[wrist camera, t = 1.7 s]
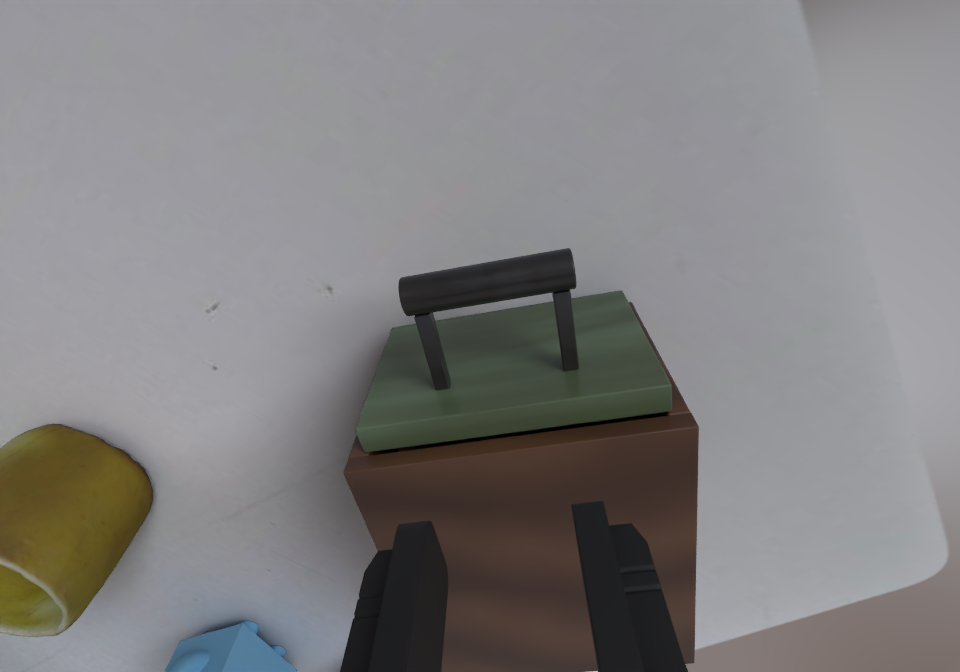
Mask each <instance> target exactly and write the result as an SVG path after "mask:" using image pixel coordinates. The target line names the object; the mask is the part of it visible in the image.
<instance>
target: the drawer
mask: <svg viewBox="0 0 960 672" xmlns="http://www.w3.org/2000/svg"><path fill="white" fill-rule="evenodd" d="M575 288H576V275H575V268H574V261H573V256H572V252H571V250H570V248H566V249H561V250H555V251H549V252H544V253H538V254H532V255H527V256H521V257H515V258H509V259H504V260H498V261H492V262H487V263H481V264H475V265H470V266H464V267H458V268H453V269H447V270H441V271H435V272H430V273H424V274H418V275H413V276H407V277H402V278H400V280H399V297H400V302H401V305H402V308H403V311H404V313H405V314H406V315H407V316H413V315H415V317H414V318H415V322H416V324H414V325H407V326H401V327H395V328H392V329H391V332H390V334H389V337H388V340H387V343H386V345H385V348H384V351H383V354H382V356H381V359H380V362H379V365H378V367H377V370H376V373H375V376H374V378H373V381H372V384H371V387H370V389H369V392H368V395H367V398H366V400H365V403H364V406H363V409H362V411H361V414H360V417H359V420H358V422H357V425H356V428H355V431H356V433H357V436H358V438H359V441H360V443H361V446H362V448H363V451H364V452H365V453H367V452H375V451H382V450H389V449H397V448H399V449H398V452H400V451H408V450H415V449H423V448H430V447H438V446H445V445H453V444H460V443H467V442H475V441H482V440H490V439H497V438H505V437H512V436H520V435H527V434H534V433H542V432H549V431H557V430H564V429H572V428H579V427H587V426H594V425H601V424H609V423H616V422H624V421H631V420H639V419H643V417H642V415H648V414H656V413H663V412H670V411H672V385H671V383H670V381H669V379H668V377H667V375H666V373H665V371H664V369H663V368H662V366H661V364H660V362H659V360H658V358H657V356H656V354H655V352H654V350H653V348H652V347H651V345H650V343H649V341H648V339H647V337H646V335H645V333H644V331H643V329H642V327H641V326H640V324H639V322H638V320H637V318H636V316H635V314H634V312H633V310H632V308H631V306H630V305H629V303H628V301H627V299H626V297H625V295H624V293H623V291H615V292H609V293H603V294H597V295H590V296H584V297H578V298H572V299H571V293H570V289H575ZM546 293H552V294H553V302H548V303H542V304H536V305H529V306H523V307H517V308H511V309H505V310H499V311H493V312H487V313H481V314H475V315H468V316H462V317H456V318H450V319H444V320H438V321H435V319H434V316H433V312H437V311H443V310H449V309H455V308H462V307H468V306H474V305H480V304H486V303H492V302H498V301H504V300H510V299H516V298H522V297H528V296H534V295H540V294H546Z"/></svg>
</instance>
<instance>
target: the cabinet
mask: <svg viewBox="0 0 960 672" xmlns="http://www.w3.org/2000/svg"><path fill="white" fill-rule="evenodd" d="M629 305H630V306H631V308H632V310H633V312H634V314H635V316H636V318H637V320H638V322H639V324H640V326H641V327H642V329H643V331H644V333H645V335H646V337H647V339H648V341H649V343H650V345H651V347H652V348H653V350H654V352H655V354H656V356H657V358H658V360H659V362H660V364H661V366H662V368H663V369H664V371H665V373H666V375H667V377H668V379H669V381H670V383H671V385H672V411H670V412H663V413H656V414H648V415H642V417H643V419H639V420H631V421H624V422H616V423H609V424H601V425H594V426H587V427H579V428H572V429H564V430H557V431H549V432H542V433H534V434H527V435H520V436H512V437H505V438H497V439H490V440H482V441H475V442H467V443H460V444H453V445H445V446H438V447H430V448H423V449H415V450H408V451H400V452H398V449H399V448H397V449H389V450H382V451H375V452H367V453H365V452H364V451H363V448H362V446H361V443H360V441H359V438H358V436H356V439H355V441H354V444H353V447H352V450H351V453H350V456H349V459H348V462H347V464H346V467H345V470H344V476H345V478H346V480H347V482H348V485H349V487H350V489H351V491H352V494H353V496H354V498H355V500H356V503H357V505H358V507H359V509H360V512H361V514H362V516H363V518H364V521H365V523H366V525H367V527H368V530H369V532H370V534H371V536H372V539H373V541H374V543H375V545H376V548H377V550H378V551H381V550H390V549H392V548H393V543H394V538H395V534H396V529H397V527H398V525H399V524H404V523H413V522H422V521H431V522H432V524H433V526H434V529H435V532H436V535H437V538H438V540H439V543H440V546H441V549H442V552H443V555H444V558H445V561H446V564H447V571H448V598H447V609H446V621H445V633H444V645H443V657H442V668H441V672H586V671H598V668H597V662H596V656H595V650H594V644H593V638H592V631H591V625H590V619H589V613H588V607H587V601H586V595H585V589H584V583H583V577H582V571H581V565H580V559H579V553H578V546H577V540H576V533H575V527H574V520H573V514H572V507H571V504H579V503H587V502H596V501H603V503H604V506H605V510H606V514H607V519H608V523H609V526H610V525H619V524H628V523H632V524H633V526H634V527H635V528H636V529H637V530H638V532H639V533H640V534H641V535H642V536H643V538H644V539H645V540H646V541H647V543H648V546H649V549H650V552H651V555H652V559H653V562H654V565H655V570H656V572H657V575H658V578H659V581H660V585H661V589H662V591H663V594H664V598H665V601H666V604H667V607H668V610H669V614H670V617H671V620H672V623H673V627H674V630H675V633H676V636H677V640H678V643H679V646H680V649H681V653H682V656H683V659H684V662H685V664H688V663H694V648H695V595H696V541H697V488H698V434H699V426H698V425H697V423H696V421H695V419H694V417H693V415H692V414H691V413H690V410H689V409H688V407H687V405H686V403H685V401H684V399H683V397H682V396H681V394H680V392H679V390H678V388H677V386H676V384H675V382H674V381H673V379H672V377H671V375H670V373H669V371H668V369H667V368H666V366H665V364H664V362H663V360H662V358H661V356H660V355H659V353H658V351H657V349H656V347H655V345H654V343H653V341H652V340H651V338H650V336H649V334H648V332H647V330H646V328H645V327H644V325H643V323H642V321H641V319H640V317H639V315H638V314H637V312H636V309H635V307H634V306H633V304H632V303H631V302H630V303H629Z"/></svg>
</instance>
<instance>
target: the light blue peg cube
mask: <svg viewBox="0 0 960 672" xmlns="http://www.w3.org/2000/svg"><path fill="white" fill-rule="evenodd" d="M258 630H259V626H258V625H257V624H256V623H254V622H251V621H243V622H241V623H240V624H238V625H234V626H231V627H227V628H224V629H220V630H217V631H213V632H205V633H204V634H203V635H199V636H196V637H192V638H189V639H185V640H182V641H180V643H179V645H178V647H177V648H176V650H175V652H174V654H173V656H172V658H171V660H170V662H169V664H168V666H167V667H166V669H165V671H164V672H297V670H296V669H295V668H294V667H293V666H292V665H290V664H289V663H288V662H287V661H286V660H285V659H284V658H282V657H283V656H284V655H285V654H286V650H285V649H284V648H283V647H280V646H271V647H270V646H269V645H267V644H266V643H265V642H264V641H263V640H262V639H261V638H259V637H258V636H257V635H256V634H257V632H258Z"/></svg>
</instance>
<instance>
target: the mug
mask: <svg viewBox="0 0 960 672" xmlns="http://www.w3.org/2000/svg"><path fill="white" fill-rule="evenodd" d="M152 500H153V489H152V487H151V484H150V481H149V478H148V476H147V474H146V472H145V470H144V468H143V467H142V466H141V465H140V464H139V463H137V462H135V461H134V460H133V459H132V458H131V457H130V456H129V455H128V454H127V453H125V452H124V451H123V450H121V449H119V448H115V447H112V446H110V445H109V444H107V443H106V442H105V441H103V440H102V439H100V438H97V437H95V436H93V435H89V434H86V433H83V432H81V431H78V430H75V429H72V428H69V427H66V426H63V425H60V424H49V425H45V426H42V427H39V428H36V429H32V430H29V431H27V432H25V433H23V434H21V435H19V436H17V437H15V438H13V439H12V440H11V441H9V442H8V443H7V444H5V445H4V446H3V447H2V448H1V449H0V633H6V634H10V635H16V636H25V637H43V636H55V635H58V634H60V633H62V632H63V631H65V630H66V629H68V628H69V627H70V626H71V625H72V624H73V623H74V622H75V621H76V620H77V619H78V618H79V617H80V616H81V614H82V613H83V612H84V610H85V609H86V608H87V606H88V605H89V603H90V602H91V600H92V599H93V598H94V596H95V595H96V594H97V592H98V591H99V590H100V589H101V587H102V586H103V584H104V583H105V581H106V580H107V578H108V577H109V575H110V574H111V573H112V571H113V570H114V568H115V567H116V565H117V563H118V562H119V560H120V558H121V557H122V555H123V554H124V552H125V551H126V549H127V548H128V546H129V544H130V543H131V541H132V540H133V538H134V536H135V535H136V533H137V531H138V530H139V528H140V527H141V525H142V524H143V522H144V520H145V518H146V516H147V514H148V512H149V510H150V507H151V504H152Z"/></svg>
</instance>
